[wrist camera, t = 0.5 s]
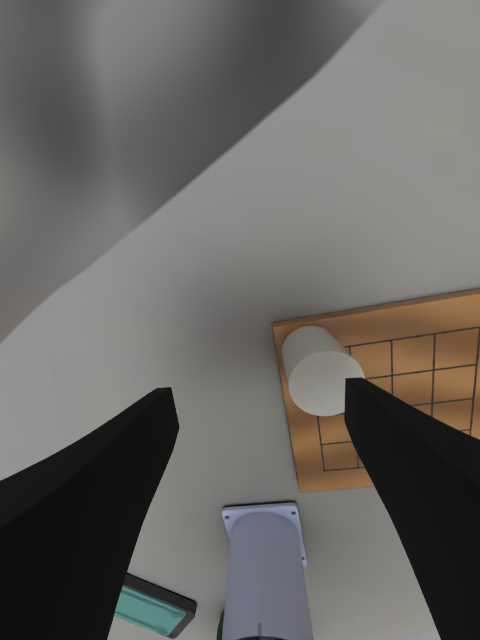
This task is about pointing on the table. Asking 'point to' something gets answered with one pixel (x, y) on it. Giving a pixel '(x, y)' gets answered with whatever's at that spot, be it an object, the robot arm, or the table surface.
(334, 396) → the white stone
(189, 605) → the smartphone
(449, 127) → the table surface
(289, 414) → the go board
